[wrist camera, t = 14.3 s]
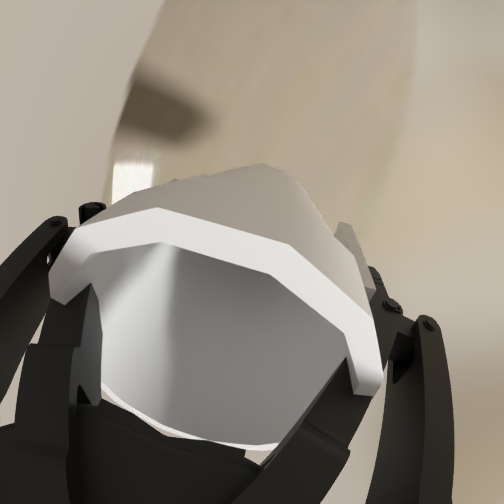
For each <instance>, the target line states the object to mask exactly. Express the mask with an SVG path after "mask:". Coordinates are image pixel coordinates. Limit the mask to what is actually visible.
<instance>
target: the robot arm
mask: <svg viewBox="0 0 504 504" xmlns="http://www.w3.org/2000/svg"><path fill="white" fill-rule="evenodd" d="M174 181H178V180H177V179H174V180H172V181H170V182H169V183H171V182H174ZM105 209H106V205H105V204H103V203H100V202H90V203H86V204H83V205H81V206H80V207H79V220H80V225H81V224H83V223H84V222H86V221H87V220H89V219H90V218H92V217H94V216H95V215H97V214H98V213H100V212H102V211H103V210H105ZM75 228H77V227H68V221H67V218H65V217H62V216H53V217H51V218H49V219H48V220H46V221H44V222H43V223H42V224H41V225H40V226H39V227H38V228H37V229H36V230H35V231H34V232H32V233H31V234H30V235H29V236H28V237H27V238H26V239H25V240H24V241H23V242H22V243H21V244H20V245H19V246H18V247H17V248H16V249H15V250H14V251H13V252H12V254H10V256H9V257H8V258H7V259H6V260H5V261H4V262H3V263H2V264H1V265H0V403H1V401H2V400H3V398H4V396H5V395H6V393H7V390H8V388H9V386H10V384H11V382H12V379H13V377H14V374H15V372H16V370H17V368H18V366H19V364H20V361H21V359H22V357H23V355H24V353H25V351H26V353H25V357H24V362H23V366H22V372H21V377H20V382H19V389H18V396H17V403H16V412H15V423H12V424H9V425H5V426H1V427H0V504H320V502H321V501H322V500H323V498H324V497H325V496H326V494H327V493H328V491H329V490H330V488H331V487H332V485H333V483H334V482H335V480H336V479H337V477H338V476H339V474H340V472H341V471H342V469H343V467H344V466H345V464H346V462H347V460H348V458H349V456H350V450H349V449H348V446H349V444H350V441H351V440H352V438H353V436H354V434H355V432H356V430H357V428H358V427H359V425H360V422H361V421H362V419H363V417H364V414H365V412H366V410H367V408H368V406H369V403H370V402H371V400H372V397H373V396H365V395H356V394H353V388H352V383H351V378H350V373H349V368H348V363H347V359H346V357H345V358H344V360H343V361H342V362H341V364H340V365H339V366H338V367H337V369H336V370H335V371H334V373H333V374H332V375H331V377H330V378H329V379H328V381H327V382H326V384H325V385H324V386H323V388H322V389H321V390H320V392H319V393H318V394H317V396H316V397H315V398H314V400H313V401H312V402H311V404H310V405H309V406H308V408H307V409H306V410H305V412H304V413H303V414H302V416H301V417H300V418H299V420H298V421H297V422H296V423H295V425H294V426H293V427H292V429H291V430H290V431H289V432H288V433H287V435H286V436H285V437H284V438H283V440H282V441H281V442H280V443H279V444H278V445H277V447H276V448H275V449H274V450H273V451H272V452H271V453H270V455H269V456H268V457H267V458H266V459H265V460H264V461H263V462H262V463H261V464H260V465H258V464H256V463H254V462H253V461H251V460H249V459H247V458H245V457H244V456H245V451H246V449H241V448H237V447H232V446H228V445H224V444H220V443H216V442H212V441H209V440H197V439H185V438H176V437H168V436H165V435H163V434H161V433H160V432H159V431H157V430H155V429H154V428H153V427H151V426H150V425H148V424H147V423H146V422H144V421H143V420H141V419H140V418H138V417H137V416H136V415H135V414H133V413H131V412H129V411H127V410H125V409H122V408H120V407H118V406H116V405H114V404H112V403H110V402H108V401H106V400H104V399H102V397H101V359H102V339H103V332H102V325H101V318H100V310H99V301H98V297H97V295H96V293H95V290H94V288H93V285H92V283H90V284H89V285H88V286H86V287H85V288H84V289H83V290H82V291H81V292H79V293H78V294H77V295H76V296H75V297H74V298H72V299H71V300H70V301H69V302H68V303H67V304H66V305H63V304H61V303H60V302H58V301H56V300H54V299H52V298H51V297H50V287H49V274H48V273H49V271H50V270H51V268H52V266H53V264H54V263H55V261H56V259H57V257H58V256H59V254H60V252H61V251H62V249H63V247H64V246H65V244H66V242H67V241H68V239H69V238H70V236H71V234H72V233H73V231H74V230H75ZM334 237H335V238H336V239H337V240H338V241H339V242H340V243H342V244H343V245H344V246H345V247H346V248H347V249H348V250H349V251H350V252H351V253H352V254H353V255H354V257H355V260H356V263H357V266H358V269H359V272H360V275H361V278H362V282H363V285H364V288H365V291H366V295H367V298H368V302H369V305H370V309H371V312H372V316H373V320H374V325H375V330H376V335H377V340H378V346H379V351H380V357H381V363H382V370H383V371H384V368H385V366H386V363H387V361H388V370H387V384H386V397H385V405H384V414H383V422H382V429H381V436H380V441H379V447H378V452H377V457H376V462H375V467H374V472H373V476H372V480H371V484H370V488H369V492H368V496H367V499H366V503H365V504H452V498H451V496H452V486H453V474H454V418H453V405H452V394H451V385H450V378H449V371H448V364H447V359H446V353H445V348H444V343H443V338H442V333H441V329H440V327H439V325H438V324H437V322H436V321H435V320H434V319H433V318H431V317H429V316H426V315H420V316H419V317H418V319H417V320H416V321H413V320H410V319H409V318H406V317H404V316H403V310H402V308H401V306H400V305H399V304H398V303H397V302H396V301H394V300H393V299H391V298H389V296H388V294H387V291H386V289H385V286H384V284H383V281H382V279H381V276H380V274H379V273H378V272H377V271H376V269H375V268H373V267H370V266H367V263H366V260H365V258H364V255H363V253H362V250H361V248H360V245H359V243H358V240H357V238H356V236H355V233H354V231H353V229H352V226H351V225H349V224H346V223H343V222H339V224H338V227H337V230H336V232H335V235H334ZM47 256H48V257H49V263H48V264H47ZM45 314H46V315H45ZM44 316H45V319H44V323H43V326H42V330H41V334H40V338H39V342H38V343H37V344H33V343H31V344H30V345H29V343H30V341H31V339H32V337H33V335H34V334H35V332H36V330H37V328H38V326H39V324H40V323H41V321H42V319H43V317H44ZM26 349H27V350H26Z"/></svg>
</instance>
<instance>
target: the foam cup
mask: <svg viewBox="0 0 504 504" xmlns="http://www.w3.org/2000/svg"><path fill="white" fill-rule="evenodd" d="M48 274H49V287H50V297H51V298H52V299H54V300H56V301H58V302H60V303H61V304H63V305H66V304H67V303H68V302H69V301H70V300H71V299H72V298H74V297H75V296H76V295H77V294H78V293H79V292H81V291H82V290H83V289H84V288H85V287H86V286H88V285H89V284H90V283H92V285H93V288H94V290H95V293H96V295H97V297H98V301H99V310H100V318H101V325H102V332H103V339H102V359H101V389H102V390H103V391H104V392H106V393H107V394H108V395H109V396H110V397H111V398H112V399H113V400H114V401H115V402H117V403H118V404H120V405H121V406H123V407H125V408H126V409H128V410H129V411H131V412H133V413H134V414H136V415H138V416H140V417H141V418H143V419H144V420H146V421H148V422H150V423H151V424H153V425H155V426H157V427H159V428H160V429H163V430H166V431H168V432H171V433H174V434H177V435H179V436H182V437H185V438H188V439H197V440H209V441H212V442H216V443H220V444H224V445H228V446H232V447H237V448H241V449H247V450H262V451H265V450H273V449H275V448H276V447H277V445H278V444H279V443H280V442H281V441H282V440H283V438H284V437H285V436H286V435H287V433H288V432H289V431H290V430H291V429H292V427H293V426H294V425H295V423H296V422H297V421H298V420H299V418H300V417H301V416H302V414H303V413H304V412H305V410H306V409H307V408H308V406H309V405H310V404H311V402H312V401H313V400H314V398H315V397H316V396H317V394H318V393H319V392H320V390H321V389H322V388H323V386H324V385H325V384H326V382H327V381H328V379H329V378H330V377H331V375H332V374H333V373H334V371H335V370H336V369H337V367H338V366H339V365H340V364H341V362H342V361H343V360H344V358H345V357H346V359H347V363H348V368H349V373H350V378H351V383H352V388H353V394H356V395H365V396H373V397H374V395H375V394H376V392H377V391H378V389H379V388H380V386H381V384H382V383H383V381H384V376H383V370H382V363H381V357H380V351H379V346H378V340H377V335H376V330H375V325H374V320H373V316H372V312H371V309H370V305H369V302H368V298H367V295H366V291H365V288H364V285H363V282H362V278H361V275H360V272H359V269H358V266H357V263H356V260H355V257H354V255H353V254H352V253H351V252H350V251H349V250H348V249H347V248H346V247H345V246H344V245H343V244H342V243H340V242H339V241H338V240H337V239H336V238H335V237H334V236H333V234H332V233H331V231H330V229H329V228H328V226H327V224H326V223H325V221H324V220H323V218H322V216H321V215H320V213H319V212H318V210H317V208H316V207H315V205H314V204H313V202H312V201H311V199H310V198H309V196H308V194H307V193H306V191H305V190H304V188H303V187H302V186H301V185H300V184H299V183H298V182H297V181H296V180H295V179H294V178H293V177H291V176H290V175H289V174H288V173H287V172H286V171H285V170H283V169H279V168H276V167H272V166H268V165H265V164H256V165H251V166H245V167H240V168H235V169H231V170H228V171H224V172H220V173H217V174H213V175H210V176H209V175H205V174H204V175H200V176H195V177H191V178H187V179H183V180H178V181H174V182H171V183H167V184H163V185H159V186H155V187H152V188H148V189H144V190H141V191H137V192H134V193H132V194H130V195H128V196H127V197H125V198H123V199H121V200H120V201H118V202H116V203H115V204H113V205H111V206H110V207H108V208H106V209H105V210H103V211H102V212H100V213H98V214H97V215H95V216H94V217H92V218H90V219H89V220H87V221H86V222H84V223H83V224H81V225H80V226H78V227H77V228H75V230H74V231H73V233H72V234H71V236H70V238H69V239H68V241H67V242H66V244H65V246H64V247H63V249H62V251H61V252H60V254H59V256H58V257H57V259H56V261H55V263H54V264H53V266H52V268H51V270H50V271H49V273H48ZM373 397H372V398H373Z"/></svg>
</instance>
